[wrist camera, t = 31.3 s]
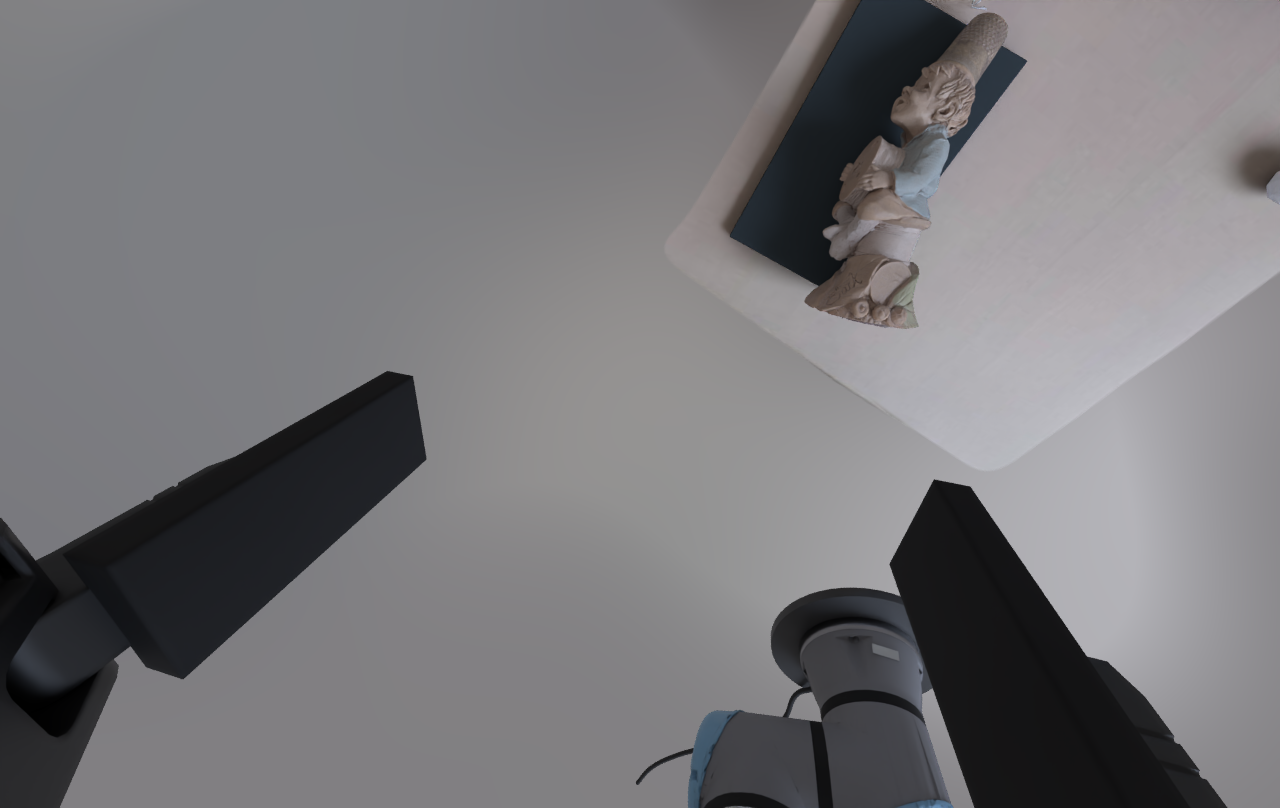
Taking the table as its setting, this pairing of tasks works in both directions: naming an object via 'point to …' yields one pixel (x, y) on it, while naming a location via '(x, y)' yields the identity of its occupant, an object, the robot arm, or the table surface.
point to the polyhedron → (1274, 188)
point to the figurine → (902, 186)
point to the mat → (854, 127)
